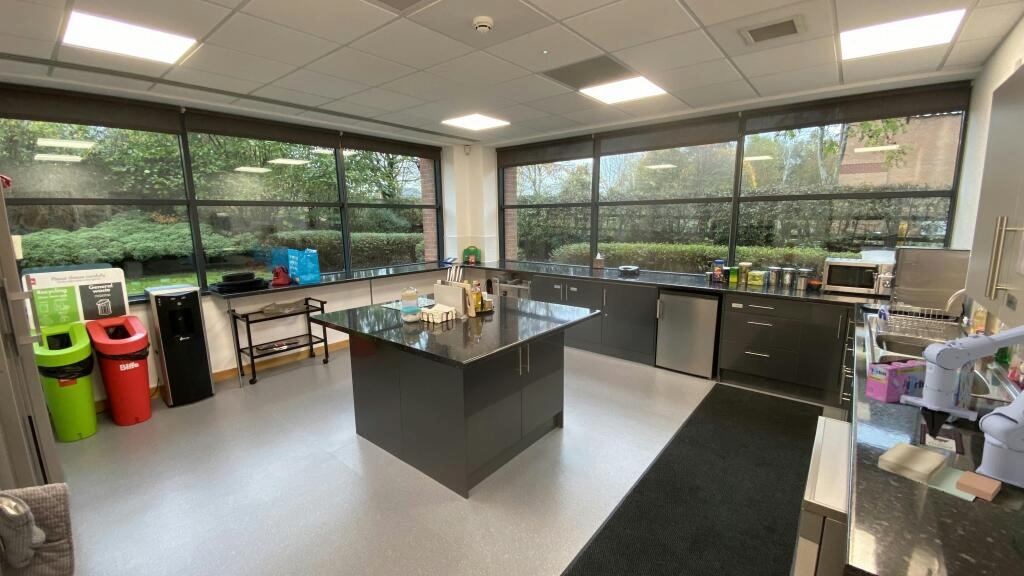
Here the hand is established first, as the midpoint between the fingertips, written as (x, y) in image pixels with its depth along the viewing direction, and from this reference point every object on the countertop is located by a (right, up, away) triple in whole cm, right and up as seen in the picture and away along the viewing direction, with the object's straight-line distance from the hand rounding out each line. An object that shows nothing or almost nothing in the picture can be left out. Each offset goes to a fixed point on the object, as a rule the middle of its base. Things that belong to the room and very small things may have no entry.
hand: (933, 435), depth 114 cm
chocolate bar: (+19, -8, +17) cm, 27 cm away
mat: (+1, -10, -6) cm, 12 cm away
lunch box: (+39, -5, +35) cm, 52 cm away
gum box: (+37, -3, +50) cm, 62 cm away
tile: (+2, -8, -9) cm, 13 cm away
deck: (-4, -9, +2) cm, 10 cm away
